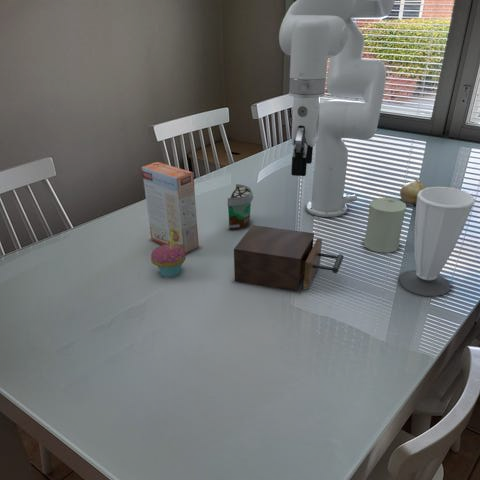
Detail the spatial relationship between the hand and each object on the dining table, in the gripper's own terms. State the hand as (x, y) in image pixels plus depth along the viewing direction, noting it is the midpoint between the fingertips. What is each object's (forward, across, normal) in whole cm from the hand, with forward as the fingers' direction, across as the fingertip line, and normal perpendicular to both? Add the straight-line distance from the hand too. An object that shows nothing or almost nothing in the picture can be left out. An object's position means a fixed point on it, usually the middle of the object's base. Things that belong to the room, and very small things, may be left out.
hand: (301, 169), depth 110 cm
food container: (+23, +19, +19) cm, 35 cm away
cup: (+24, -4, -32) cm, 40 cm away
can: (+23, +14, -21) cm, 34 cm away
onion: (+22, +47, -30) cm, 60 cm away
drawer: (+23, -8, -2) cm, 24 cm away
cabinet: (+24, -7, +4) cm, 25 cm away
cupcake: (+24, -13, +30) cm, 40 cm away
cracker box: (+24, +2, +34) cm, 42 cm away
